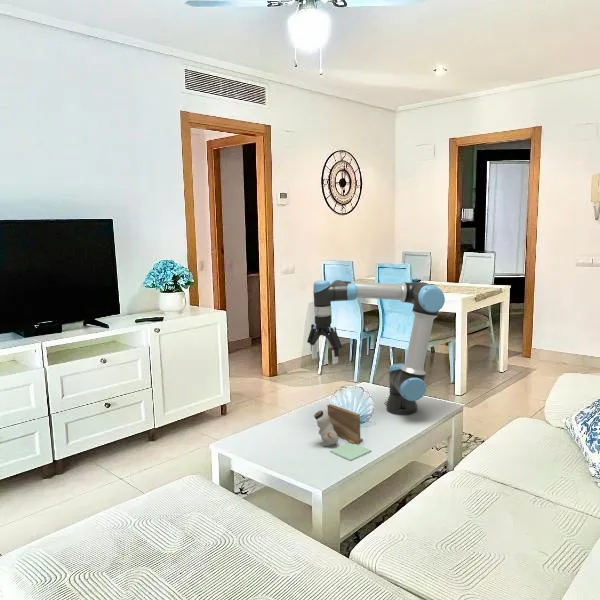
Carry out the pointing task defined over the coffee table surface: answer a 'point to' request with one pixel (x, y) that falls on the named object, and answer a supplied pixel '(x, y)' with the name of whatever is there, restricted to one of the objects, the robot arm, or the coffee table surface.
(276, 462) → the coffee table surface
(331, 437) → the figurine
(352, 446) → the pad
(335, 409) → the screen
